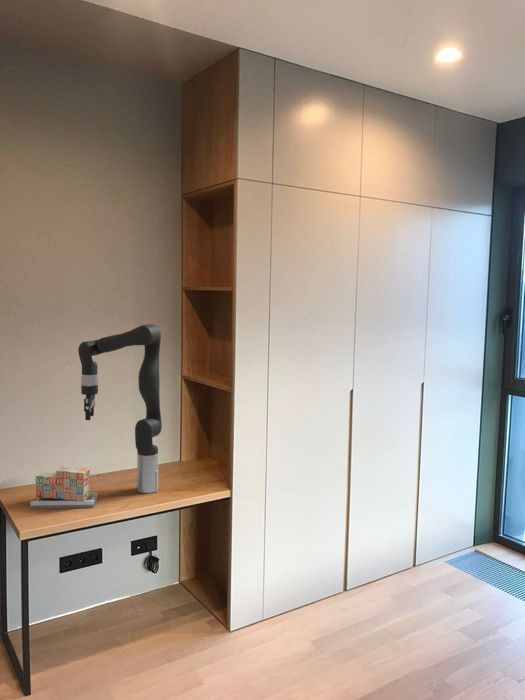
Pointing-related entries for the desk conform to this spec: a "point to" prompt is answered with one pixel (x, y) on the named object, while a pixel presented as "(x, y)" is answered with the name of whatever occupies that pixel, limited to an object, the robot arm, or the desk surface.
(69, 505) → the base board
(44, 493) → the stack of blocks
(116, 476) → the desk surface
